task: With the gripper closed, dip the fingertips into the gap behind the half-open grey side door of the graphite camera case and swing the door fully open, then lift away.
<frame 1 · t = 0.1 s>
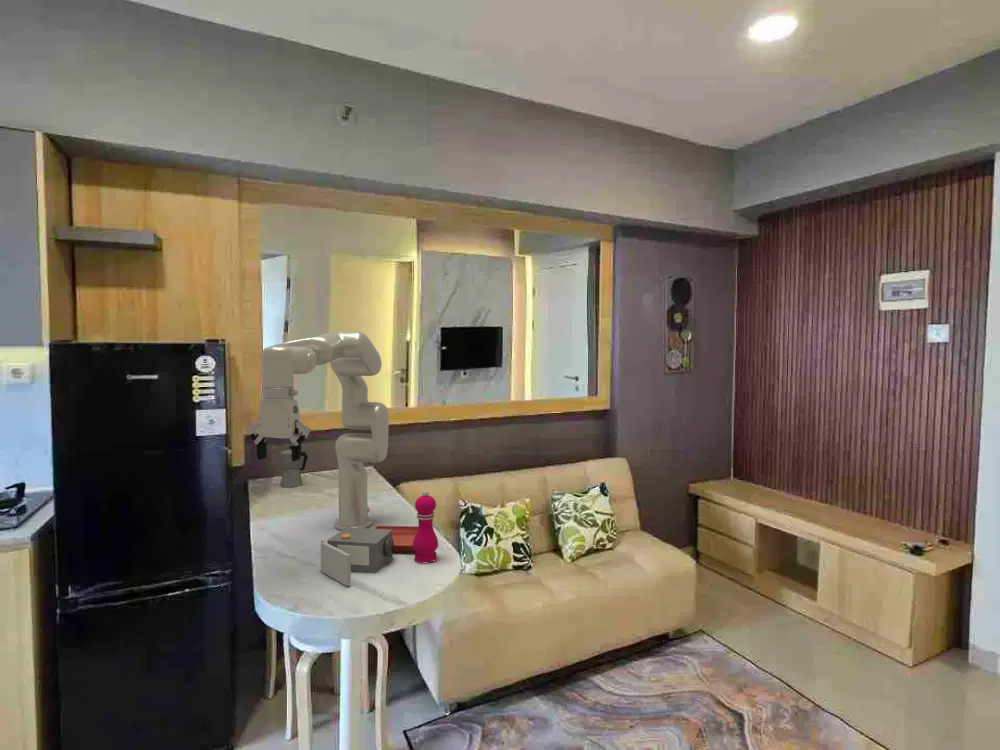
hand: (278, 459, 145), 31 cm above the table, tool pointing down, fingers open, 9 cm apart
plant saucer: (399, 545, 172), on the table
camera case: (361, 563, 156), on the table
side door: (334, 562, 145), point 4 cm above the table, hinge at 35.0°
coffeepot: (293, 486, 247), on the table
pepper mill: (425, 560, 159), on the table
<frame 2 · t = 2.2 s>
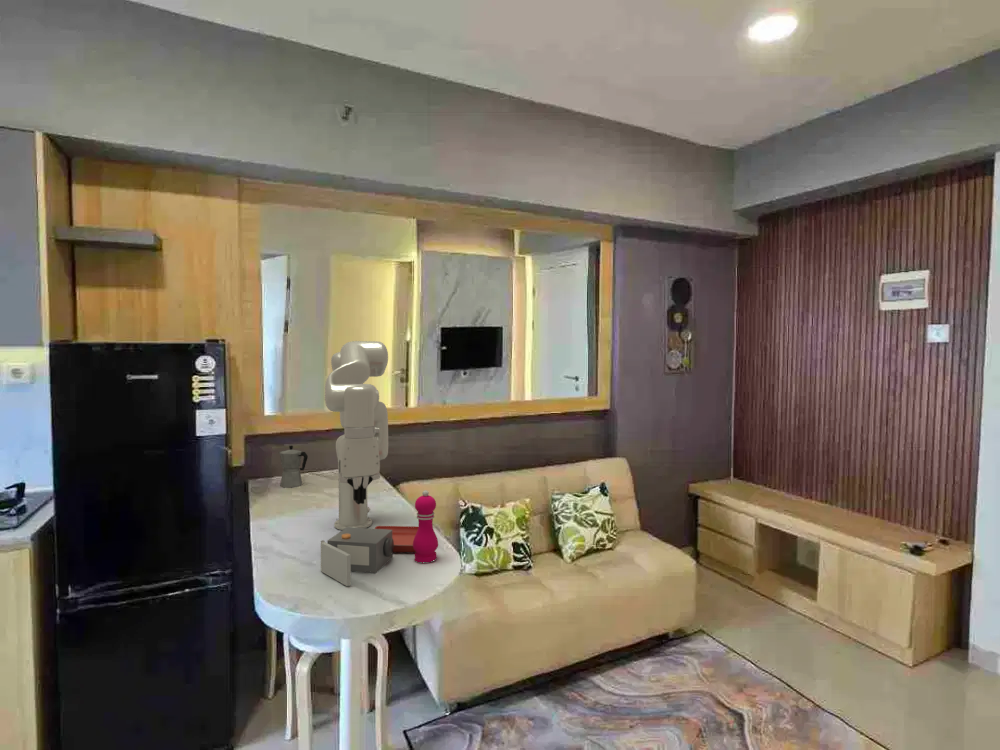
hand: (359, 502, 145), 20 cm above the table, tool pointing down, fingers closed
nothing on the table moved.
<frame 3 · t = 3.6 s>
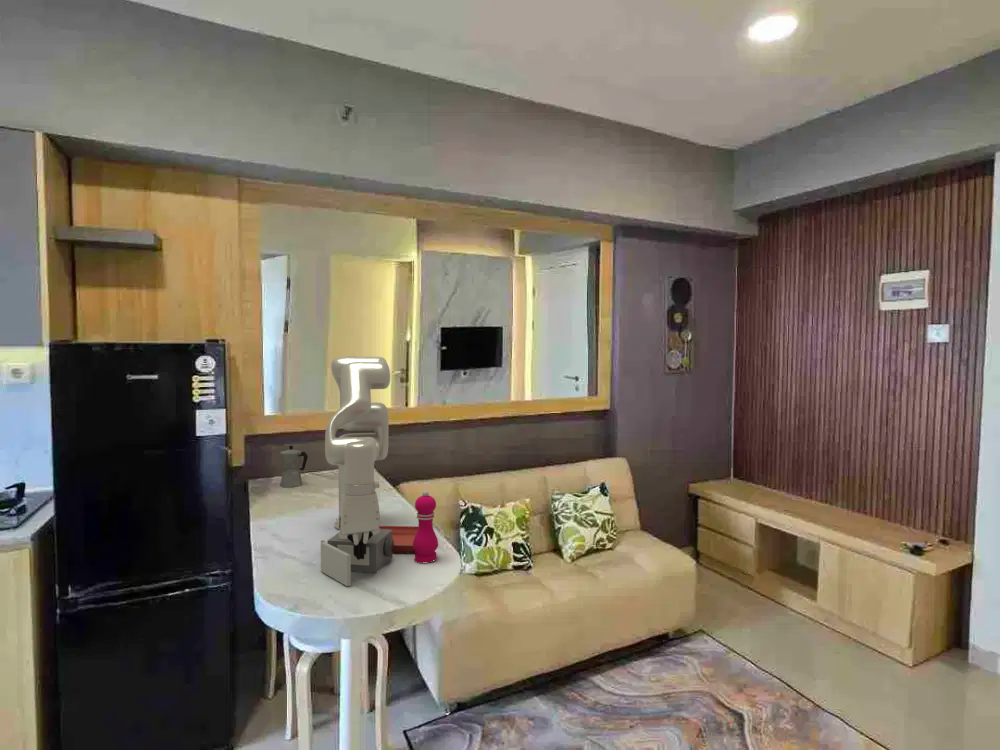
hand: (359, 557, 146), 5 cm above the table, tool pointing down, fingers closed
nothing on the table moved.
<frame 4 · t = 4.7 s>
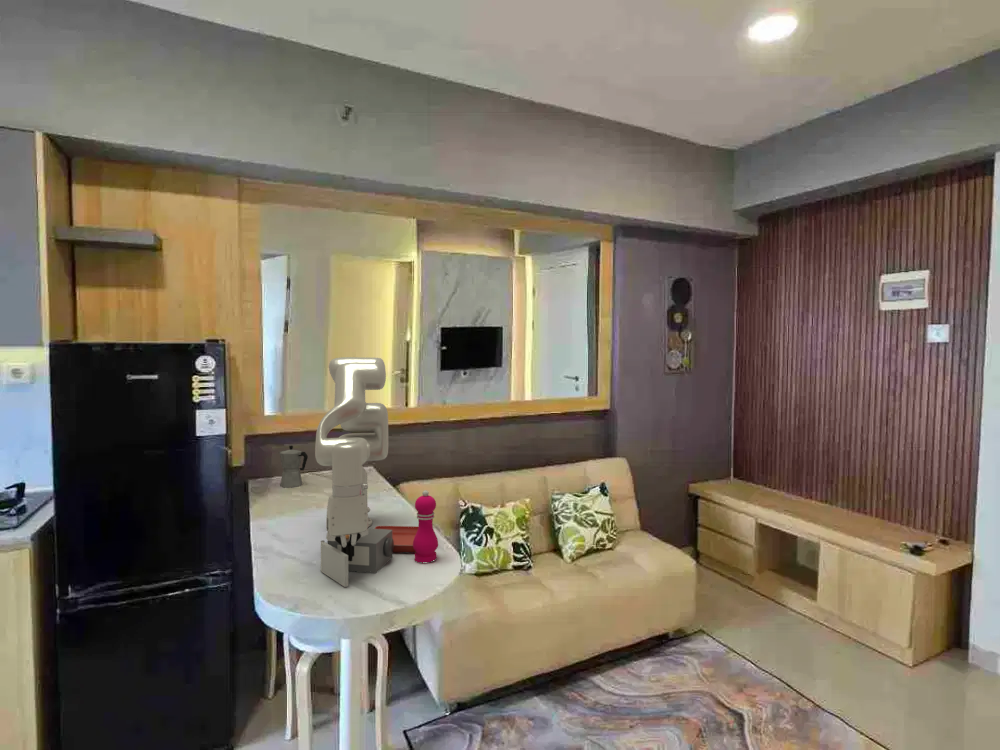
hand: (347, 559, 144), 5 cm above the table, tool pointing down, fingers closed
side door: (333, 562, 145), point 4 cm above the table, hinge at 37.6°, touching gripper
everything else where it was.
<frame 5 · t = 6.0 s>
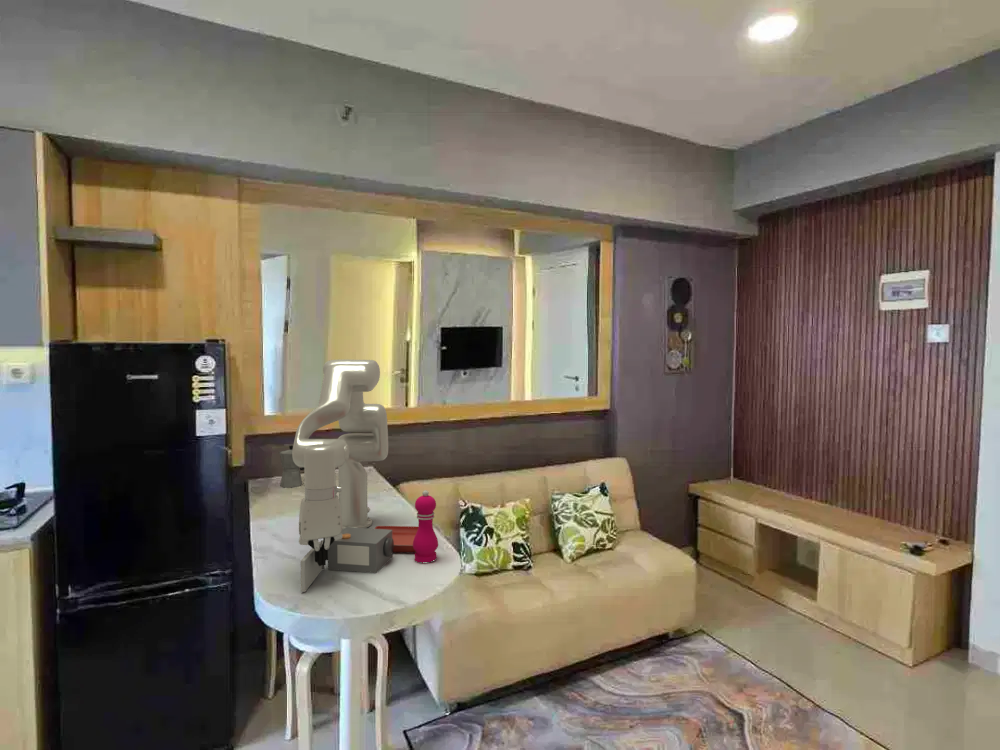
hand: (321, 563, 142), 5 cm above the table, tool pointing down, fingers closed
side door: (313, 564, 143), point 4 cm above the table, hinge at 79.1°, touching gripper
everything else where it was.
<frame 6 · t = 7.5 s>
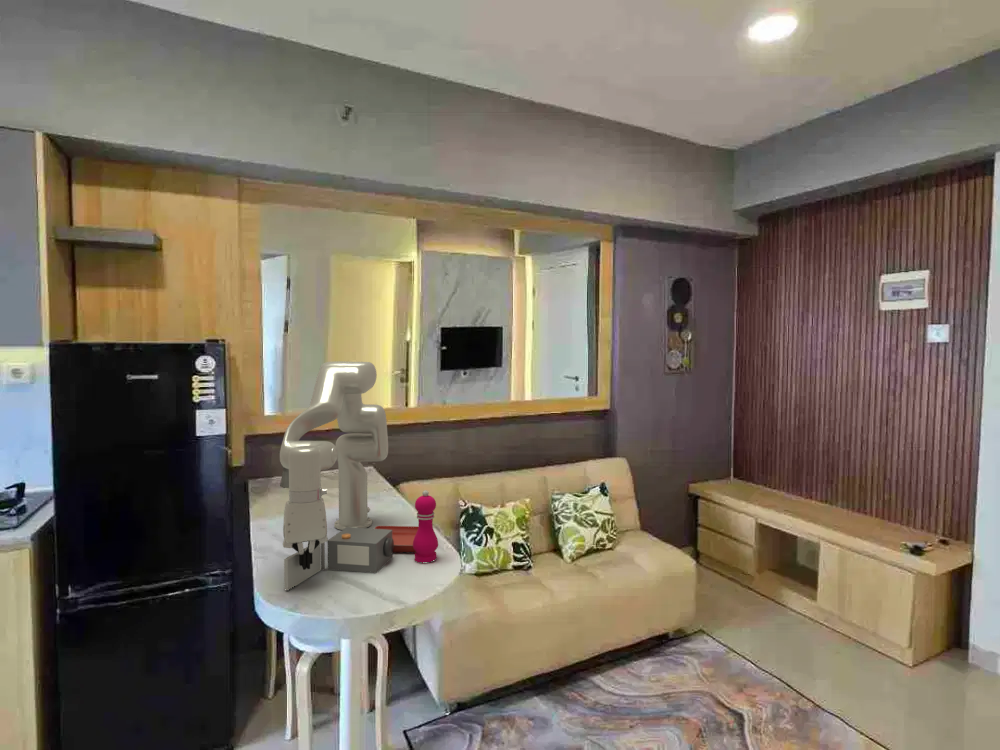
hand: (305, 567, 140), 5 cm above the table, tool pointing down, fingers closed
side door: (305, 564, 144), point 4 cm above the table, hinge at 96.8°, touching gripper
everything else where it was.
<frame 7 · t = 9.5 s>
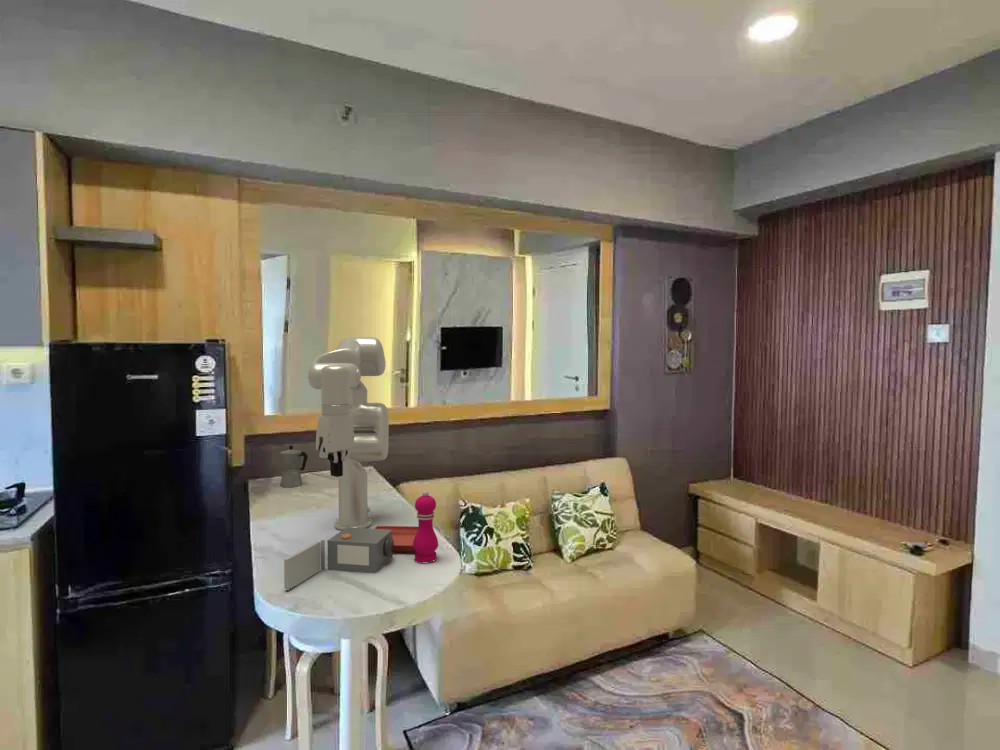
hand: (336, 475, 153), 25 cm above the table, tool pointing down, fingers closed
side door: (305, 564, 144), point 4 cm above the table, hinge at 96.9°
everything else where it was.
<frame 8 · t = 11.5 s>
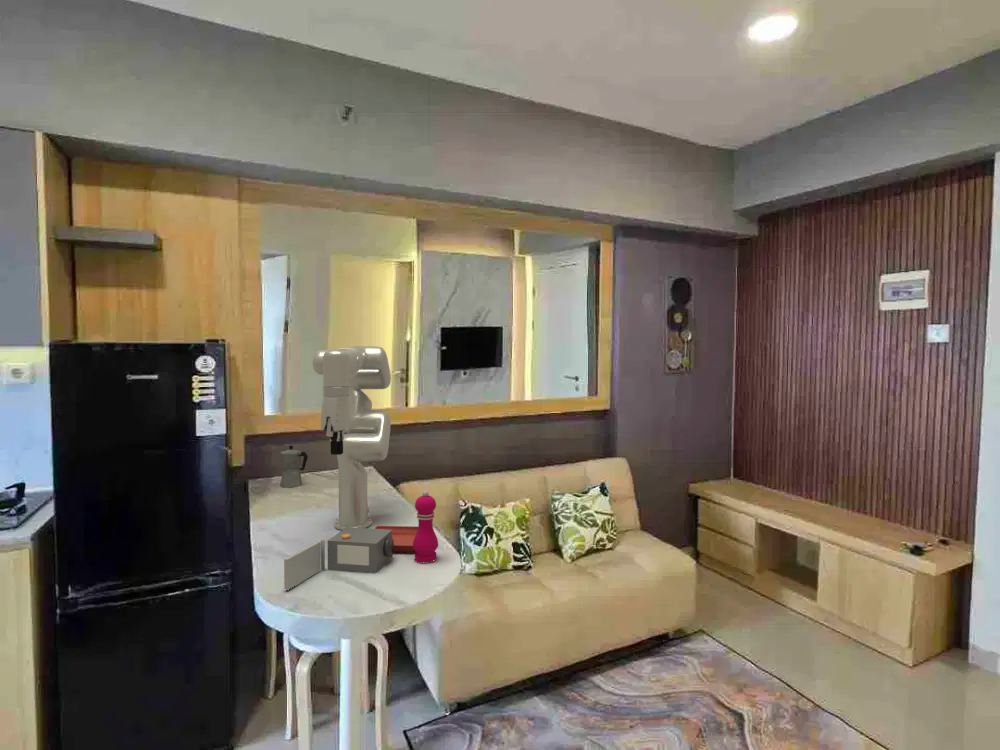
hand: (336, 454, 164), 29 cm above the table, tool pointing down, fingers closed
nothing on the table moved.
at the end: side door at +97° (first picture: +35°); side door touching nothing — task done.
